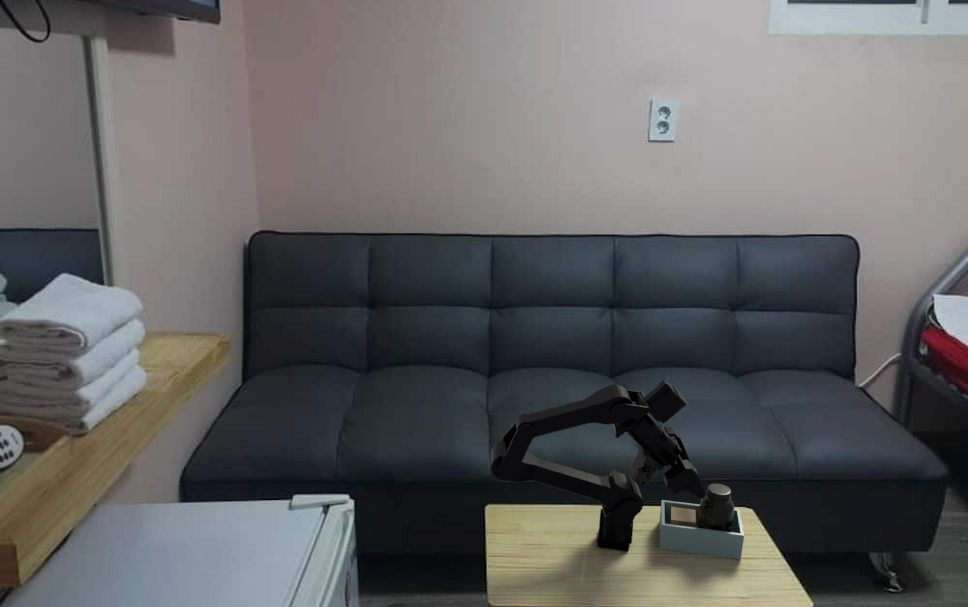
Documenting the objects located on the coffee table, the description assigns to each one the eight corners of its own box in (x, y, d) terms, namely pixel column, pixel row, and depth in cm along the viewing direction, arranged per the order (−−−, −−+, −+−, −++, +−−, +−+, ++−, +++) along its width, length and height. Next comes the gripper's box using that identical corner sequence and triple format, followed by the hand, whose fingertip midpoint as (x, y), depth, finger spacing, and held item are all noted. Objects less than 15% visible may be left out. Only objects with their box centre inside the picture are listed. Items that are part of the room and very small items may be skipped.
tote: (659, 548, 168) (661, 524, 166) (659, 522, 177) (661, 499, 176) (740, 559, 165) (744, 535, 164) (736, 532, 174) (739, 509, 173)
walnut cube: (668, 540, 170) (671, 519, 168) (668, 526, 175) (671, 506, 173) (693, 543, 169) (696, 522, 167) (692, 530, 174) (695, 509, 172)
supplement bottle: (736, 547, 168) (742, 496, 164) (705, 551, 167) (711, 499, 163) (720, 528, 174) (726, 479, 171) (690, 532, 173) (696, 481, 169)
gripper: (611, 438, 173) (658, 484, 177) (626, 484, 156) (678, 535, 159) (651, 405, 171) (698, 453, 175) (671, 448, 153) (723, 500, 157)
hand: (698, 484), depth 166 cm, fingers open, 9 cm apart
